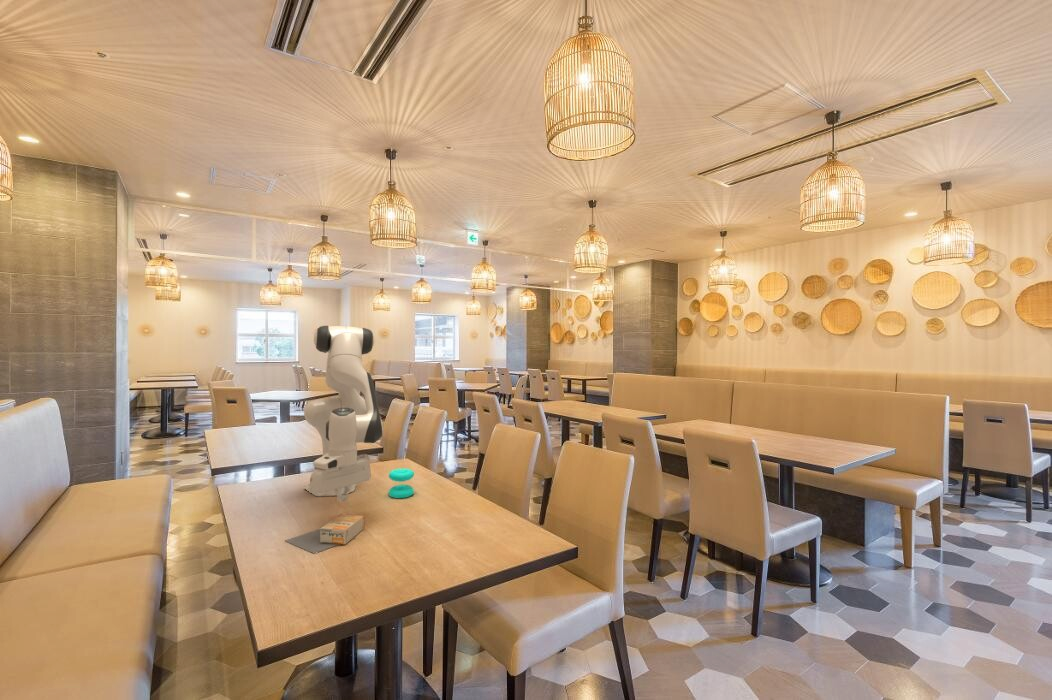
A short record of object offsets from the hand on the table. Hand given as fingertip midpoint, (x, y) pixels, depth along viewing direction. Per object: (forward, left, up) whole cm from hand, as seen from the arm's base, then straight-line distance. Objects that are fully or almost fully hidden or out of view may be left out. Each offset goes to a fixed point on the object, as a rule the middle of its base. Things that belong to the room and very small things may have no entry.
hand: (342, 500), depth 159 cm
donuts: (-14, +37, -10) cm, 41 cm away
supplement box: (+1, +3, -8) cm, 8 cm away
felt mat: (+1, -8, -10) cm, 13 cm away
